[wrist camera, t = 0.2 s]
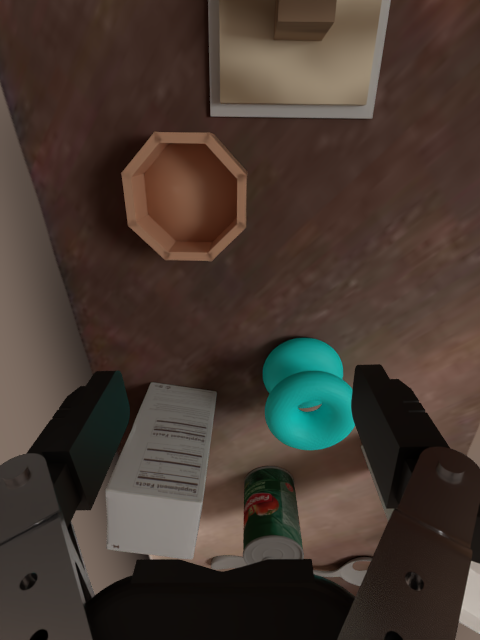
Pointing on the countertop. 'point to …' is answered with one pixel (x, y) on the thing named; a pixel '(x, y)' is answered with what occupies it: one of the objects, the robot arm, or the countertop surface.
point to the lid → (297, 51)
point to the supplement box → (162, 474)
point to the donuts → (307, 395)
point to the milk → (476, 604)
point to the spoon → (343, 572)
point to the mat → (289, 110)
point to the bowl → (185, 195)
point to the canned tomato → (270, 516)
